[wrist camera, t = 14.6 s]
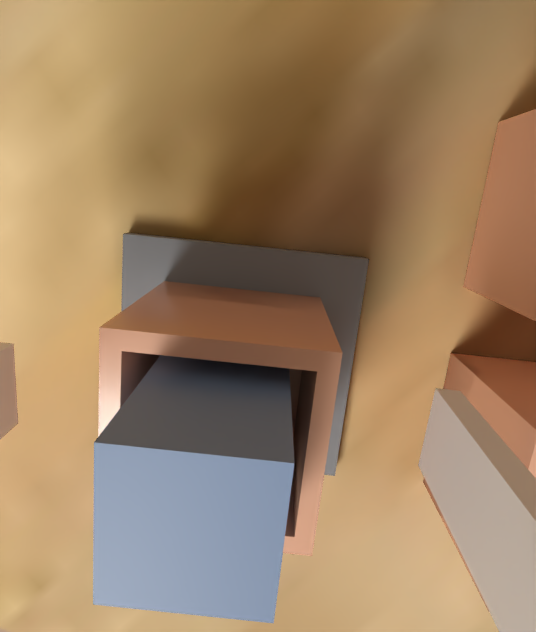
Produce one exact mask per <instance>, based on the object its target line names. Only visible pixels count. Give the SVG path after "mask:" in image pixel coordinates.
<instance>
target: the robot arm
mask: <svg viewBox="0 0 536 632" xmlns="http://www.w3.org/2000/svg"><path fill="white" fill-rule="evenodd" d="M17 424H18V413H17V395H16V378H15V361H14V344H11V343H1V342H0V439H1V438H2V437H3V436H4V435H6V434H7V433H8V432H9V431H10V430H11V429H12V428H13V427H14V426H15V425H17ZM418 466H419V468H420V470H421V472H422V474H423V476H424V478H425V480H426V482H427V484H428V486H429V488H430V490H431V492H432V494H433V496H434V498H435V501H436V503H437V505H438V507H439V509H440V511H441V513H442V515H443V517H444V519H445V521H446V523H447V525H448V527H449V529H450V531H451V533H452V536H453V538H454V540H455V542H456V544H457V546H458V548H459V550H460V552H461V554H462V556H463V558H464V560H465V562H466V564H467V566H468V568H469V570H470V573H471V575H472V577H473V579H474V581H475V583H476V585H477V587H478V589H479V591H480V593H481V595H482V597H483V599H484V601H485V603H486V605H487V608H488V610H489V612H490V614H491V616H492V618H493V620H494V622H495V624H496V626H497V628H498V630H499V632H536V478H535V477H534V476H533V475H532V473H531V472H530V471H529V470H528V469H527V468H526V467H525V465H524V464H523V463H522V462H521V461H520V460H519V458H518V457H517V456H516V455H515V454H514V453H513V451H512V450H511V449H510V448H509V447H508V446H507V445H506V443H505V442H504V441H503V440H502V439H501V438H500V436H499V435H498V434H497V433H496V432H495V431H494V429H493V428H492V427H491V426H490V425H489V424H488V423H487V421H486V420H485V419H484V418H483V417H482V416H481V414H480V413H479V412H478V411H477V410H476V409H475V407H474V406H473V405H472V404H471V403H470V402H469V401H468V399H467V398H466V397H465V396H464V395H463V394H462V392H461V391H456V390H447V389H437V388H436V389H435V393H434V398H433V402H432V407H431V411H430V416H429V420H428V425H427V429H426V434H425V438H424V442H423V447H422V451H421V456H420V460H419V465H418Z"/></svg>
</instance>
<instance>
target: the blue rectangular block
mask: <svg viewBox="0 0 536 632" xmlns="http://www.w3.org/2000/svg"><path fill="white" fill-rule="evenodd" d="M293 471H294V446H293V427H292V409H291V391H290V372H289V368H279V367H269V366H260V365H250V364H241V363H231V362H222V361H212V360H203V359H193V358H183V357H174V356H164V355H160V357H159V358H158V359H157V360H156V362H155V363H154V364H153V366H152V367H151V368H150V370H149V371H148V372H147V374H146V375H145V376H144V378H143V379H142V380H141V381H140V383H139V384H138V385H137V387H136V388H135V389H134V391H133V392H132V393H131V395H130V396H129V397H128V399H127V400H126V401H125V403H124V404H123V405H122V406H121V408H120V409H119V410H118V412H117V413H116V414H115V416H114V417H113V418H112V420H111V421H110V422H109V424H108V425H107V426H106V427H105V429H104V430H103V431H102V433H101V434H100V435H99V437H98V438H97V439H96V441H95V442H94V546H93V604H94V605H104V606H113V607H123V608H133V609H142V610H152V611H161V612H171V613H181V614H190V615H200V616H209V617H219V618H228V619H238V620H248V621H257V622H267V623H274V616H275V608H276V600H277V593H278V585H279V578H280V570H281V562H282V555H283V547H284V539H285V532H286V524H287V517H288V509H289V501H290V494H291V486H292V478H293Z"/></svg>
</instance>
